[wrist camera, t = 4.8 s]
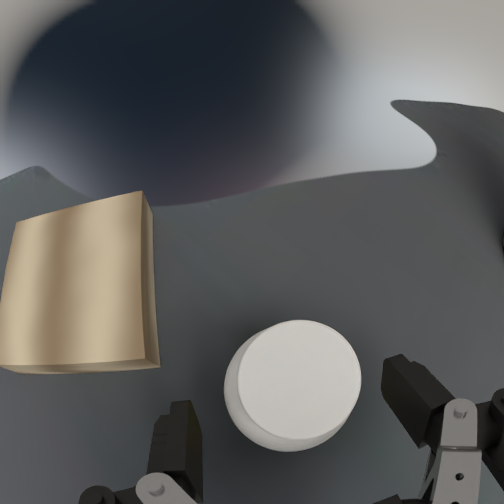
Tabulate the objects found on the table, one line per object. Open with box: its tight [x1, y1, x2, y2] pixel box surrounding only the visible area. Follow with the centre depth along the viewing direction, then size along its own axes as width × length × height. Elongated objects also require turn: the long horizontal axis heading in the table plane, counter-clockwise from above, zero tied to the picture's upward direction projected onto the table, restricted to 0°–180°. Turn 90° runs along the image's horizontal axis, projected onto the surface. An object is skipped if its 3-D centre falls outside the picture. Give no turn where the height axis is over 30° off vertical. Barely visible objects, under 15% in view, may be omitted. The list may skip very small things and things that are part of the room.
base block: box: [0, 191, 161, 374], centre depth 20 cm, size 12×12×3 cm
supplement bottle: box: [224, 320, 361, 452], centre depth 13 cm, size 5×5×10 cm
